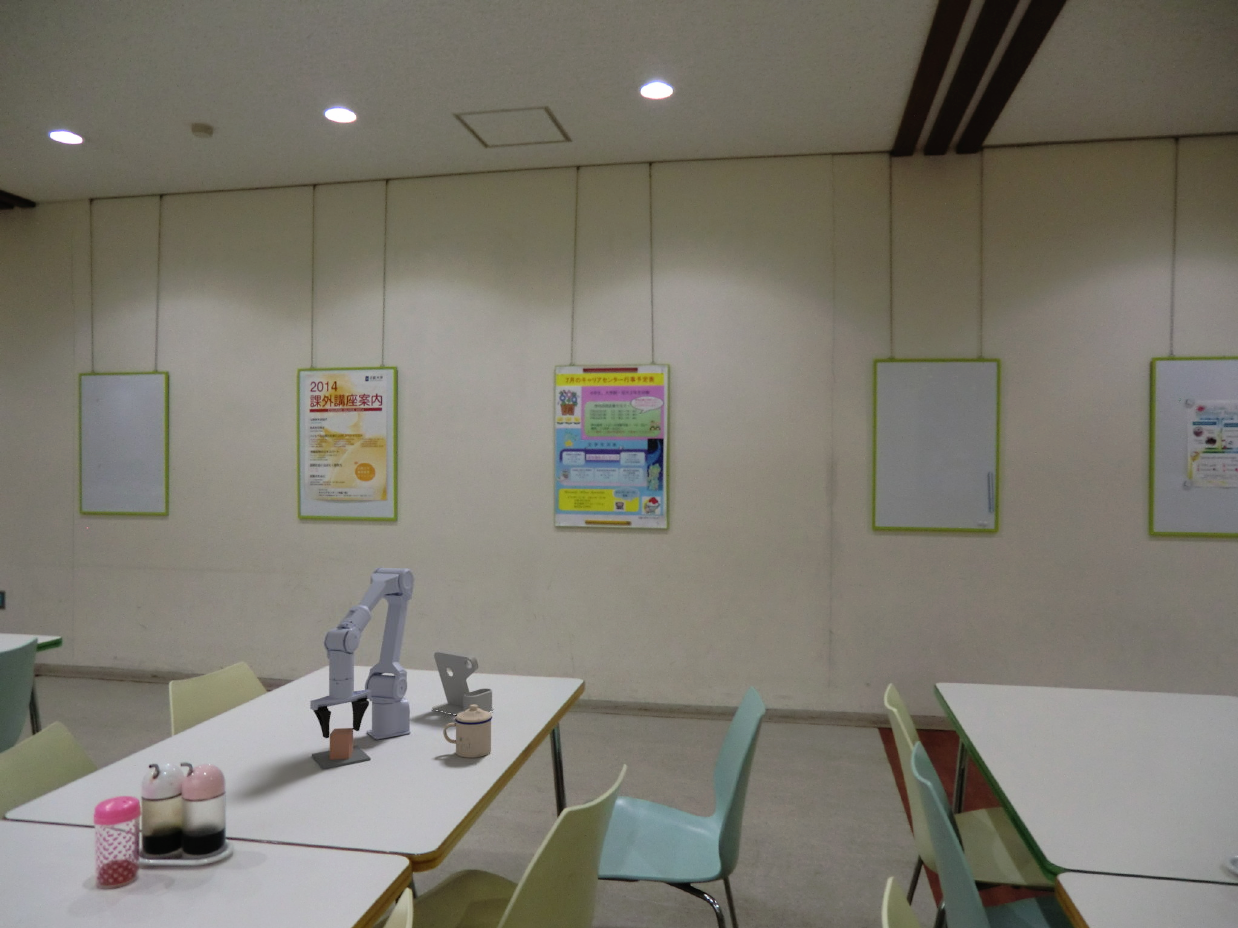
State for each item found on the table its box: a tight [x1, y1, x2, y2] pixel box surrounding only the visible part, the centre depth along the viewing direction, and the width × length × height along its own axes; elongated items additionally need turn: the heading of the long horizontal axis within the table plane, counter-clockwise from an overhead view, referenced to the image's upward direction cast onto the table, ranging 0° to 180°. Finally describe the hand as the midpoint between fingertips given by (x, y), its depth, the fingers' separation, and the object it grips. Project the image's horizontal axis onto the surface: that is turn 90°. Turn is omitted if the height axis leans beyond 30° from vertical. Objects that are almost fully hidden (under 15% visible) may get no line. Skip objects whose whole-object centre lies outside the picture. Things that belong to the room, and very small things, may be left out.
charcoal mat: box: [311, 745, 371, 770], centre depth 190 cm, size 11×11×1 cm
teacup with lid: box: [442, 704, 493, 759], centre depth 195 cm, size 12×9×12 cm
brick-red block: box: [329, 727, 354, 760], centre depth 191 cm, size 4×4×6 cm
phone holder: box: [431, 648, 495, 715], centre depth 230 cm, size 17×10×18 cm, turn 55°
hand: (341, 733), depth 191 cm, fingers open, 7 cm apart
